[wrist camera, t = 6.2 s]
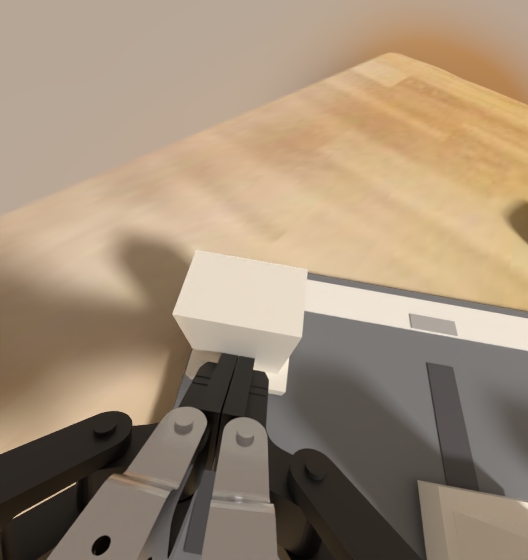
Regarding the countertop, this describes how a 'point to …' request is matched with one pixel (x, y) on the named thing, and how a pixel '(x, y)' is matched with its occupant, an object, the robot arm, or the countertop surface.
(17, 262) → the countertop surface
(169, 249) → the countertop surface
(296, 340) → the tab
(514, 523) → the middle tab
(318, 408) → the switch bank
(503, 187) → the countertop surface
